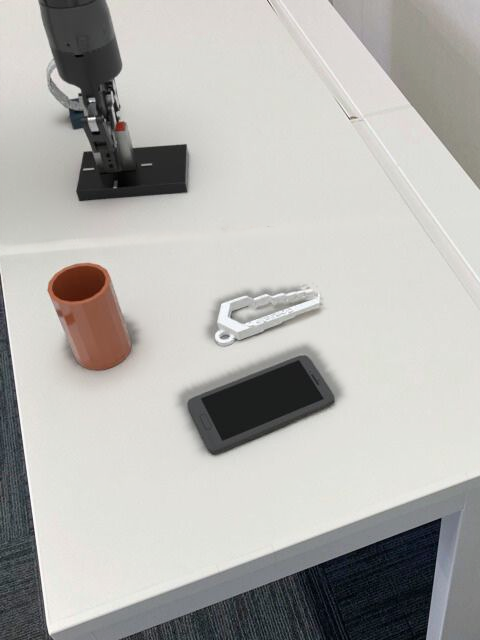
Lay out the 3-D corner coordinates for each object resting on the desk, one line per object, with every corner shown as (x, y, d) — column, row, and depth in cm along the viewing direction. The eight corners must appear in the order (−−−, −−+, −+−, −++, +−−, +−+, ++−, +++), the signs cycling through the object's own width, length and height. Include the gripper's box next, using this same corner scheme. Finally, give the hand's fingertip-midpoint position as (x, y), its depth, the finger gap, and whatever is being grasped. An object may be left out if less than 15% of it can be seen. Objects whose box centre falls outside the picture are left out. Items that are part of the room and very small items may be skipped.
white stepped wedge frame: (307, 283, 92) (306, 272, 90) (325, 310, 89) (325, 299, 87) (204, 319, 88) (201, 308, 87) (219, 348, 85) (217, 338, 84)
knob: (98, 173, 102) (86, 131, 97) (100, 164, 103) (88, 123, 98) (135, 170, 102) (125, 129, 97) (136, 161, 103) (126, 120, 99)
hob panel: (82, 209, 101) (75, 190, 99) (89, 169, 107) (83, 150, 105) (189, 201, 103) (185, 181, 100) (190, 162, 109) (186, 142, 106)
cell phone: (185, 404, 80) (184, 399, 79) (307, 356, 84) (306, 352, 83) (211, 456, 75) (210, 452, 75) (337, 403, 80) (337, 399, 79)
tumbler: (71, 372, 83) (43, 307, 75) (78, 331, 87) (51, 265, 79) (129, 367, 83) (107, 301, 76) (133, 326, 87) (112, 260, 80)
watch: (119, 130, 114) (101, 60, 106) (63, 140, 112) (40, 69, 104) (115, 111, 118) (97, 41, 109) (61, 120, 116) (38, 50, 108)
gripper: (56, 8, 93) (92, 132, 106) (39, 67, 84) (81, 195, 97) (118, 4, 94) (147, 128, 107) (109, 62, 85) (141, 190, 97)
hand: (115, 159), depth 102 cm, fingers open, 4 cm apart
